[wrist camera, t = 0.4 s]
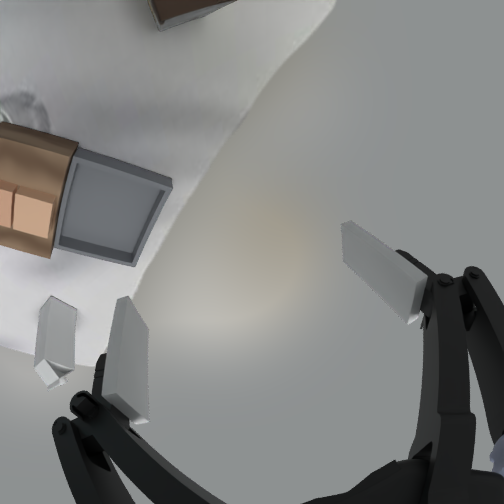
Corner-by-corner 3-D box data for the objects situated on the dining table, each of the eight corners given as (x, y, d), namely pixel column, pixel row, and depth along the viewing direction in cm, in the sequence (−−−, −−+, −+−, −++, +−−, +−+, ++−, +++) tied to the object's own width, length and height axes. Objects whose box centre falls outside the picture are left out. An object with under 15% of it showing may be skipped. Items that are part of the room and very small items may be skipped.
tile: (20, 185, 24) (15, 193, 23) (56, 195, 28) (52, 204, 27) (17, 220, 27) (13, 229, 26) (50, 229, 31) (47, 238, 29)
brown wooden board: (2, 121, 21) (-15, 133, 17) (78, 142, 29) (69, 157, 26) (-8, 220, 29) (-18, 239, 25) (55, 238, 37) (50, 258, 34)
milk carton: (40, 309, 46) (33, 386, 33) (51, 295, 45) (43, 378, 32) (64, 321, 51) (62, 395, 39) (77, 308, 50) (75, 388, 37)
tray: (78, 147, 29) (73, 155, 27) (171, 178, 38) (172, 188, 36) (57, 235, 37) (53, 247, 35) (134, 255, 46) (135, 267, 44)
